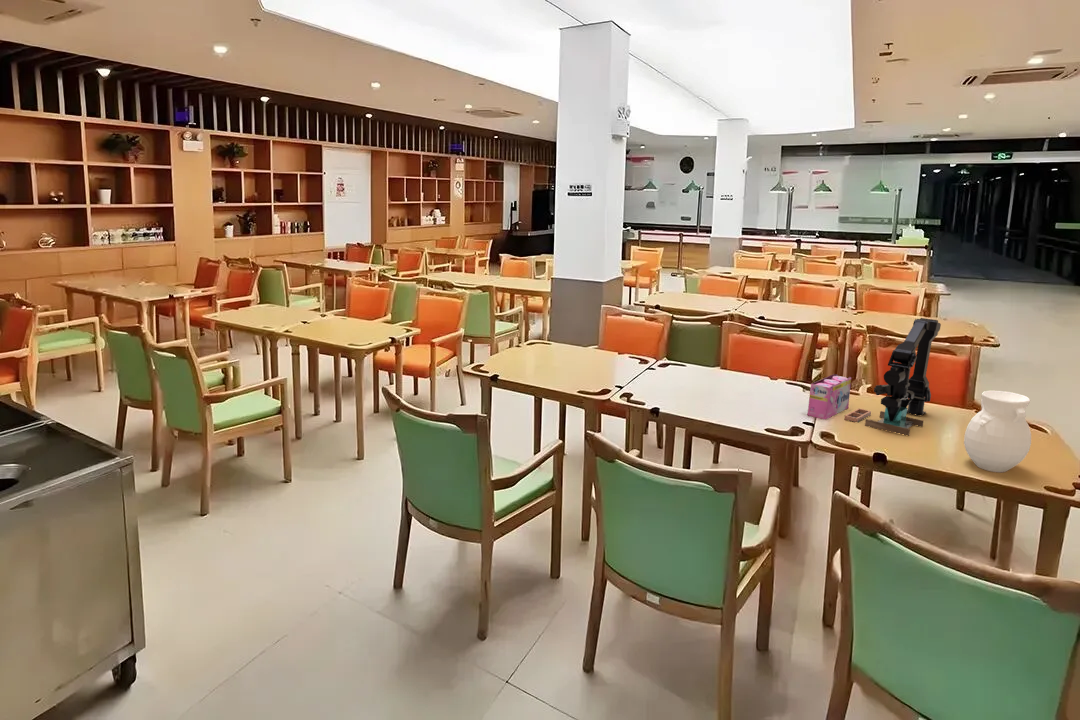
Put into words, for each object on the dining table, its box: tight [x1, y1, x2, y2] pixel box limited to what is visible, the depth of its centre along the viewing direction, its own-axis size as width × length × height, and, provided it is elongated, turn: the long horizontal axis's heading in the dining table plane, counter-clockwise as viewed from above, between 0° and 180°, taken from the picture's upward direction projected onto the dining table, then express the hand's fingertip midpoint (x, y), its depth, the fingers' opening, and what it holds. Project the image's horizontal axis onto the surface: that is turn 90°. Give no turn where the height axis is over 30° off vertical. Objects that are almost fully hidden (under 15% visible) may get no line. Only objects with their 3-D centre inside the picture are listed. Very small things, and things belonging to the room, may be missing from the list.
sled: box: [876, 407, 914, 429], centre depth 273 cm, size 13×10×7 cm
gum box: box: [806, 373, 852, 420], centre depth 289 cm, size 24×8×14 cm, turn 135°
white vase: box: [963, 389, 1032, 473], centre depth 231 cm, size 19×18×25 cm
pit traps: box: [844, 408, 872, 423], centre depth 283 cm, size 14×5×2 cm, turn 135°
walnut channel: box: [864, 410, 924, 437], centre depth 273 cm, size 16×16×2 cm
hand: (894, 418), depth 273 cm, fingers open, 8 cm apart
